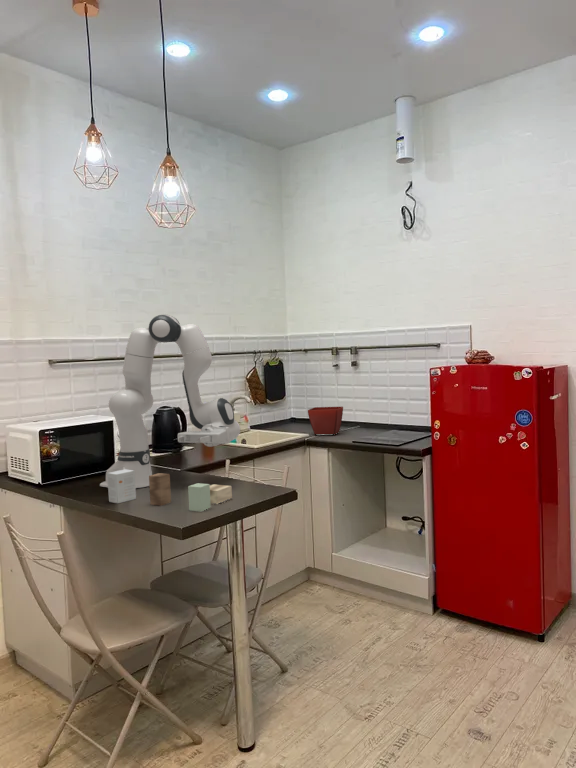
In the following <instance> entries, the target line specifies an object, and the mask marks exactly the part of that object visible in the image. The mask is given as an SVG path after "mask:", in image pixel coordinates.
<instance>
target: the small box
mask: <svg viewBox="0 0 576 768" xmlns="http://www.w3.org/2000/svg"><path fill="white" fill-rule="evenodd" d="M107 477H108V488H107V490H108V501H109V503H114V504H120V503H125V502H128V501H133V500H136V499H137V490H136V489H137V488H135V472H134V470H127V469H124V470H119V471H115V472H110V473H107Z"/></svg>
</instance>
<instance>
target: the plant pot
mask: <svg viewBox="0 0 576 768" xmlns="http://www.w3.org/2000/svg"><path fill="white" fill-rule="evenodd" d="M343 413H344V406H321V407H320V406H319V407H318V406H317V407H312V408H309V409H307V415H308V419H309V424H310V425H311V429H312V431H313V433H314V435H315V434H336V433H338V432H339V433H340V429H341V425H342V420H343ZM339 433H338V434H339ZM336 435H337V434H336Z"/></svg>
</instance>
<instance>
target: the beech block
mask: <svg viewBox="0 0 576 768" xmlns="http://www.w3.org/2000/svg"><path fill="white" fill-rule="evenodd" d="M232 489H233V488H232V485H226V484H225V485H224V484H216V483H215V484H210V502H211V503H216V504H218V503H220V502H223V501H225V500H227V499H230V498H232V499H233V490H232Z"/></svg>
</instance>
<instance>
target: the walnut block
mask: <svg viewBox="0 0 576 768" xmlns="http://www.w3.org/2000/svg"><path fill="white" fill-rule="evenodd" d="M148 487H149V500H150V502H149V503H150V506H151V505H152V506H159V507H161V506H164V505H165V506H166V505H167V504H168V505H169V504H170V503H172V495H171V494H172V491H171V475H170V473H162V472H161V473H159V472H158V473H155V474H152V475H150V476H149V486H148Z"/></svg>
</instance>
